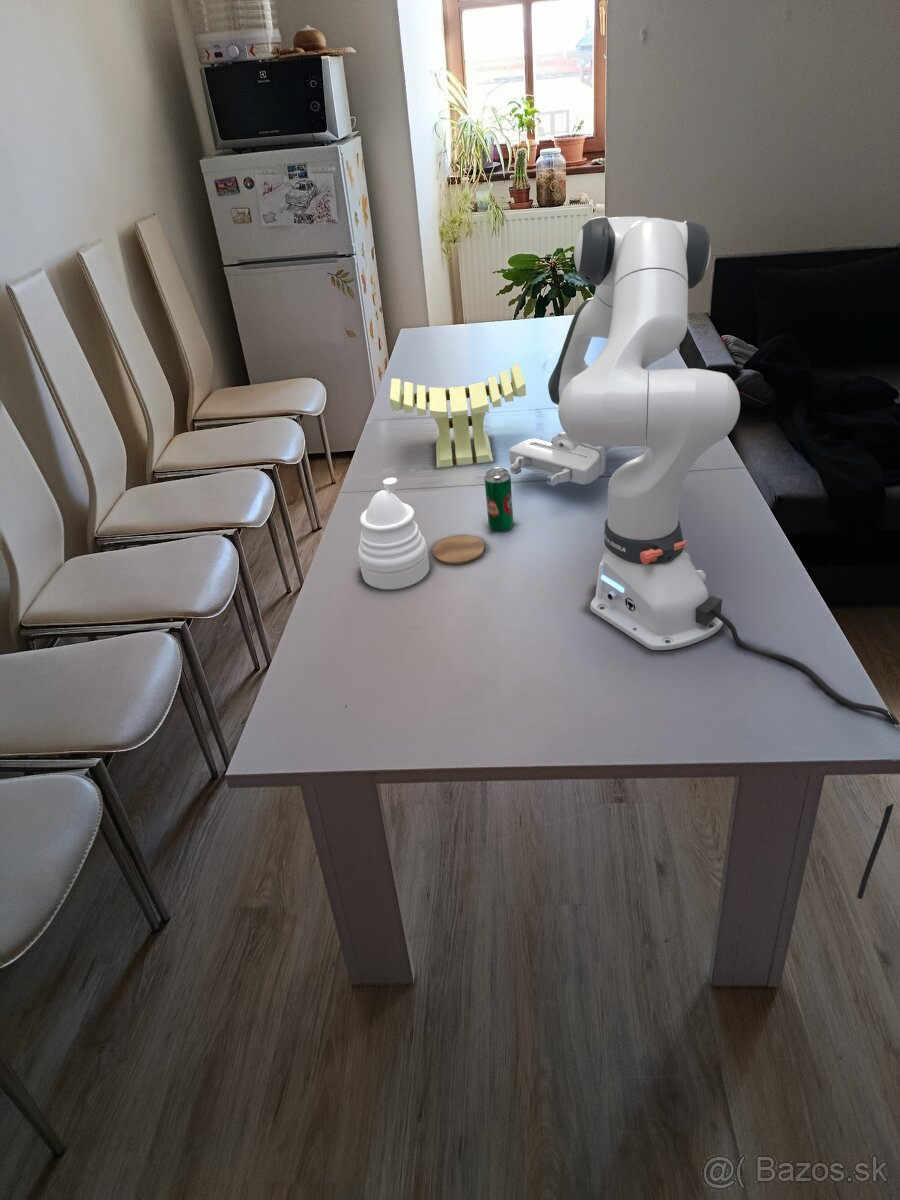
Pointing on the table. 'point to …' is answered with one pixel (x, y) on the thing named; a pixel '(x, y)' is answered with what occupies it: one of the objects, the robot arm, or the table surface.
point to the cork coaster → (458, 549)
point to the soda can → (499, 499)
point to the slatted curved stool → (459, 413)
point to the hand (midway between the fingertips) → (531, 475)
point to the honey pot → (391, 542)
